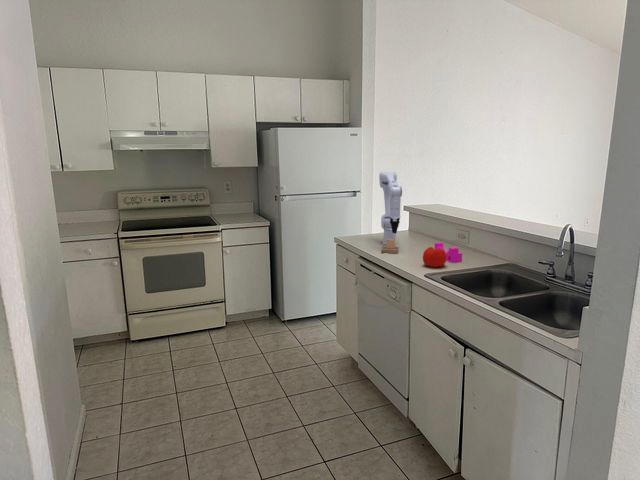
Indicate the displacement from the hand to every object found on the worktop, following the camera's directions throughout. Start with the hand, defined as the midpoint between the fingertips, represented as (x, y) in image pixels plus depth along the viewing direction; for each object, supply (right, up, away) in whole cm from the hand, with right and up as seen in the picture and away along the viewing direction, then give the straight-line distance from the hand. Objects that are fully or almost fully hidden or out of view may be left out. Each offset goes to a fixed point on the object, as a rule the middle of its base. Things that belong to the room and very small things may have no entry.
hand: (394, 231), depth 255 cm
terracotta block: (-3, -9, -5) cm, 11 cm away
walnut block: (-3, -12, -4) cm, 13 cm away
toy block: (+25, -15, -19) cm, 35 cm away
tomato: (+14, -18, -33) cm, 40 cm away
